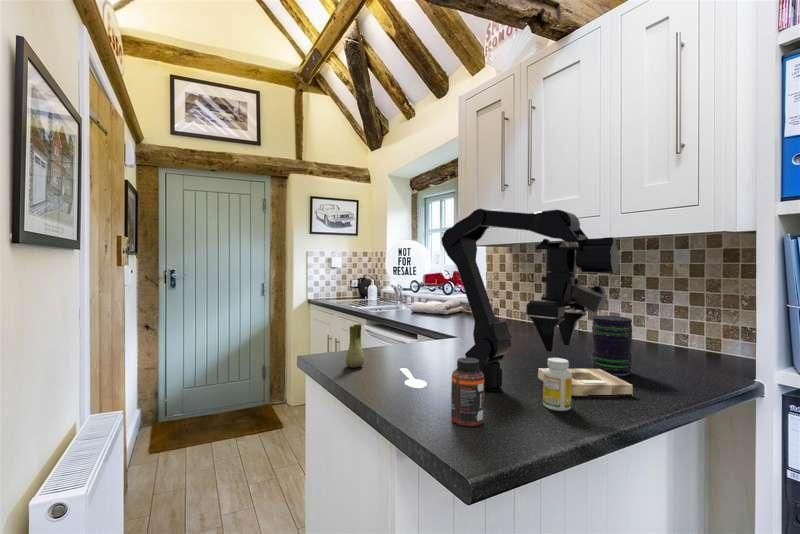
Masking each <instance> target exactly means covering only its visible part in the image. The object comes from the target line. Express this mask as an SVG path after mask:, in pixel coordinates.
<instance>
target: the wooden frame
mask: <svg viewBox="0 0 800 534" xmlns="http://www.w3.org/2000/svg"><path fill="white" fill-rule="evenodd" d="M547 368H548V367H547ZM547 368H545V367H543V368H542V367H540V368H538V371H537V379H539V380H540V381H541V382H542V383H544V371H545V369H547ZM567 370H568V371H570V372H571V374H572V388H571V397H572V396H573V397H579V396H580V397H581V396H582V397H589V396H588V395H617V394H632V395H633V392H634V391H633V389H634V387H633V384H631V383H629V382H627V381H626V380H623V379H621V378H619V377H618V376H613V375H611V374H609V373H607V372H605V371H603V370H601V369H592V368H568V369H567Z"/></svg>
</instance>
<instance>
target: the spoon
mask: <svg viewBox="0 0 800 534" xmlns="http://www.w3.org/2000/svg"><path fill="white" fill-rule="evenodd" d="M399 371H400V372H401V373H402V374H403V375H404V376H405V377H406V378H407V379H406V380H405V381H404V385H405V386H406V387H409V388H411V389H412V388H413V389H418V390H419V389H425V388H427V386H428V383H427V382H426V380H424V379H423V380H422V379H419V378H418V379H417V378H415V377H414V376H413V374H412V373H411V371H410V370H409V369H408V368H407V367H405V368H404V367H402V368H399Z"/></svg>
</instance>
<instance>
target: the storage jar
mask: <svg viewBox="0 0 800 534" xmlns="http://www.w3.org/2000/svg"><path fill="white" fill-rule="evenodd" d="M632 323H633V319H632V318H630V317H626V316H625V317H624V316H623V317H622V316H615V315H594V316H592V324H591V336H592V349H591V358H590V359H591V360H590V361H591V369H601V370H603V371H605V372H607V373H609V374H627V373H630V372H631V373H632V371H631V369H632V364H633V363H632V358H633V356H632V354H631V342H632V339H633V334H632V333H633V325H632Z"/></svg>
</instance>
